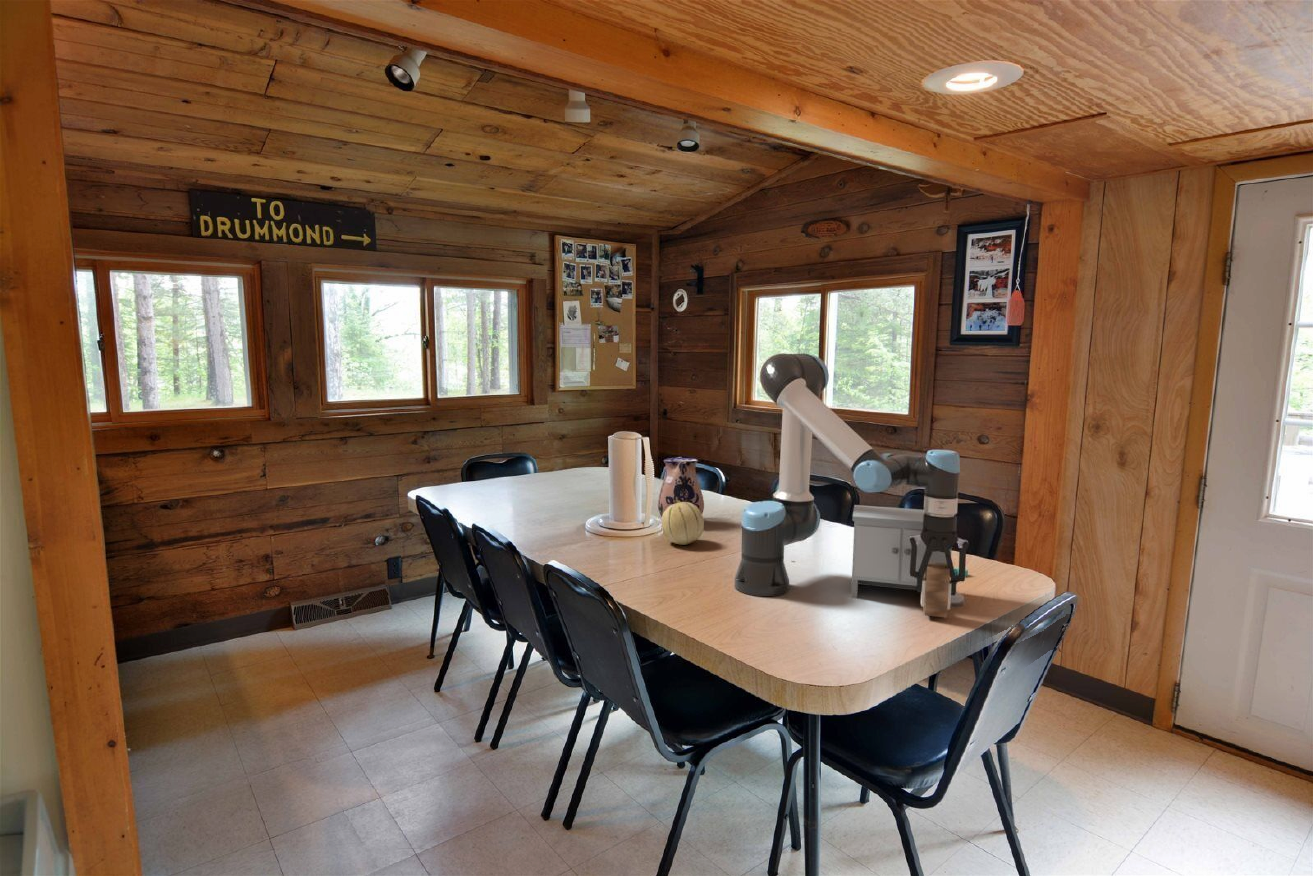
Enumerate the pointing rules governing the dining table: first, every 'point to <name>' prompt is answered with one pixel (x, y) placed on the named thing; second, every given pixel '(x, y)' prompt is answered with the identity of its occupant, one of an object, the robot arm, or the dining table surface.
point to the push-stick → (936, 589)
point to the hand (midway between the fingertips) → (935, 605)
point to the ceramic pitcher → (680, 484)
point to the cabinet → (887, 547)
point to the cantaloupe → (682, 523)
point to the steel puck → (957, 600)
